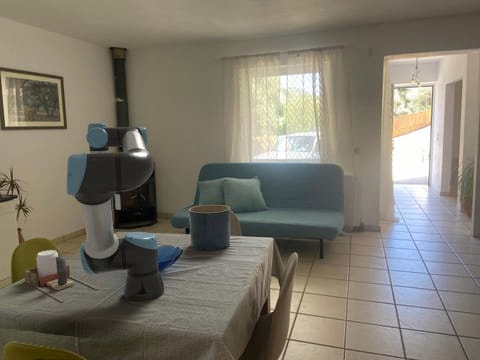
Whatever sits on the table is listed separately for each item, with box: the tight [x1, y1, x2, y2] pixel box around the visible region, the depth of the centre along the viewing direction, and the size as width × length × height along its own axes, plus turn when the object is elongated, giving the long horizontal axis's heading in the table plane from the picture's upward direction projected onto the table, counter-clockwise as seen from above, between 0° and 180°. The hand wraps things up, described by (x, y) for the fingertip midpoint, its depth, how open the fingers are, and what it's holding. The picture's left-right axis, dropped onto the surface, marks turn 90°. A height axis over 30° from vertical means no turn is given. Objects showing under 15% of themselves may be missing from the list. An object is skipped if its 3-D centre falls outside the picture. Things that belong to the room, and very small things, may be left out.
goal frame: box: [23, 263, 71, 288], centre depth 157 cm, size 10×14×5 cm
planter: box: [188, 204, 231, 252], centre depth 199 cm, size 22×22×20 cm
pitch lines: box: [34, 274, 99, 303], centre depth 147 cm, size 23×14×1 cm, turn 51°
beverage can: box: [36, 249, 59, 282], centre depth 155 cm, size 8×8×12 cm
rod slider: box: [38, 255, 75, 291], centre depth 149 cm, size 10×11×12 cm
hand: (103, 212), depth 153 cm, fingers open, 13 cm apart
